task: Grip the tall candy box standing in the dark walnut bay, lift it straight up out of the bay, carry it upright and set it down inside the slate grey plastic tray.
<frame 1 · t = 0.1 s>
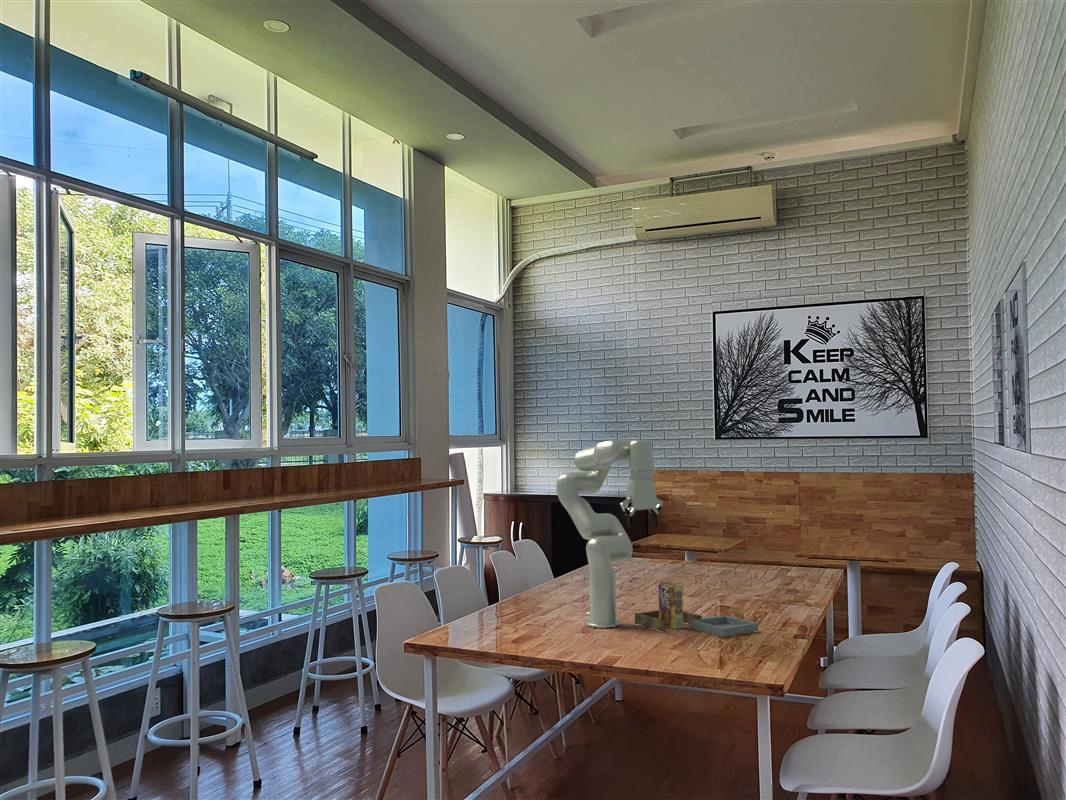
hand: (642, 527, 276), 37 cm above the table, tool pointing down, fingers open, 9 cm apart
candy box: (671, 627, 289), on the table
slate tray: (724, 630, 282), on the table
walnut bay: (671, 626, 289), on the table
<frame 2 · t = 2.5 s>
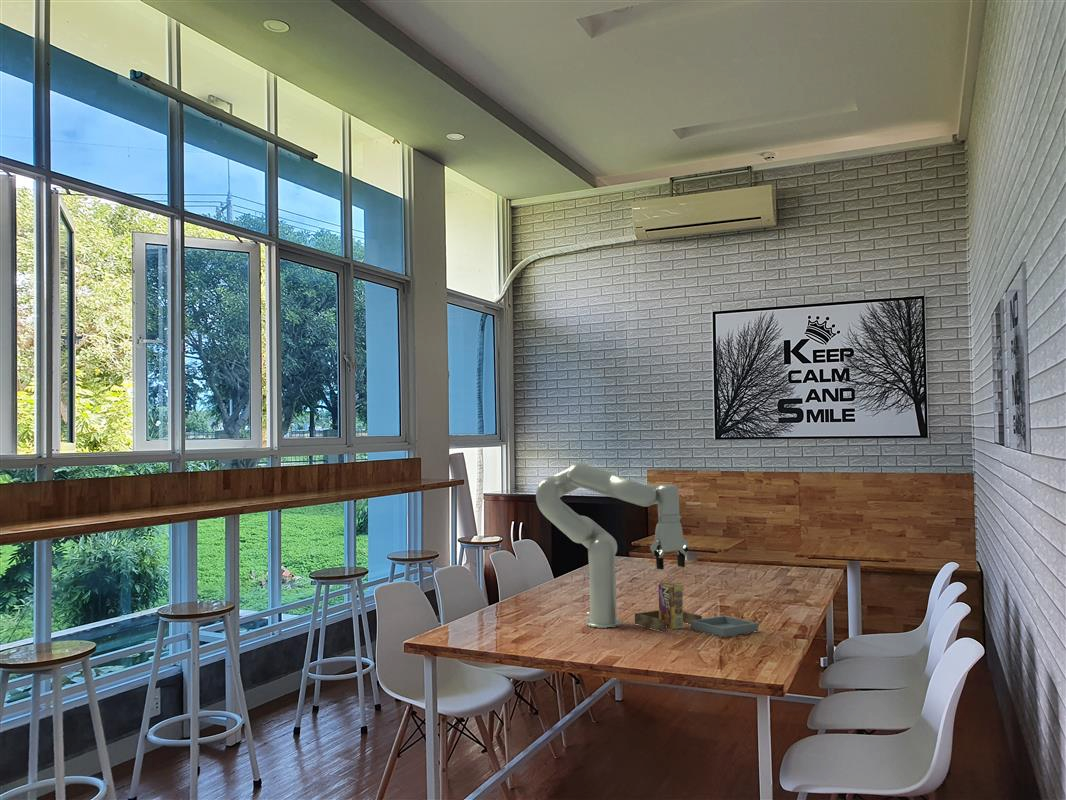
hand: (670, 567, 290), 21 cm above the table, tool pointing down, fingers open, 9 cm apart
nothing on the table moved.
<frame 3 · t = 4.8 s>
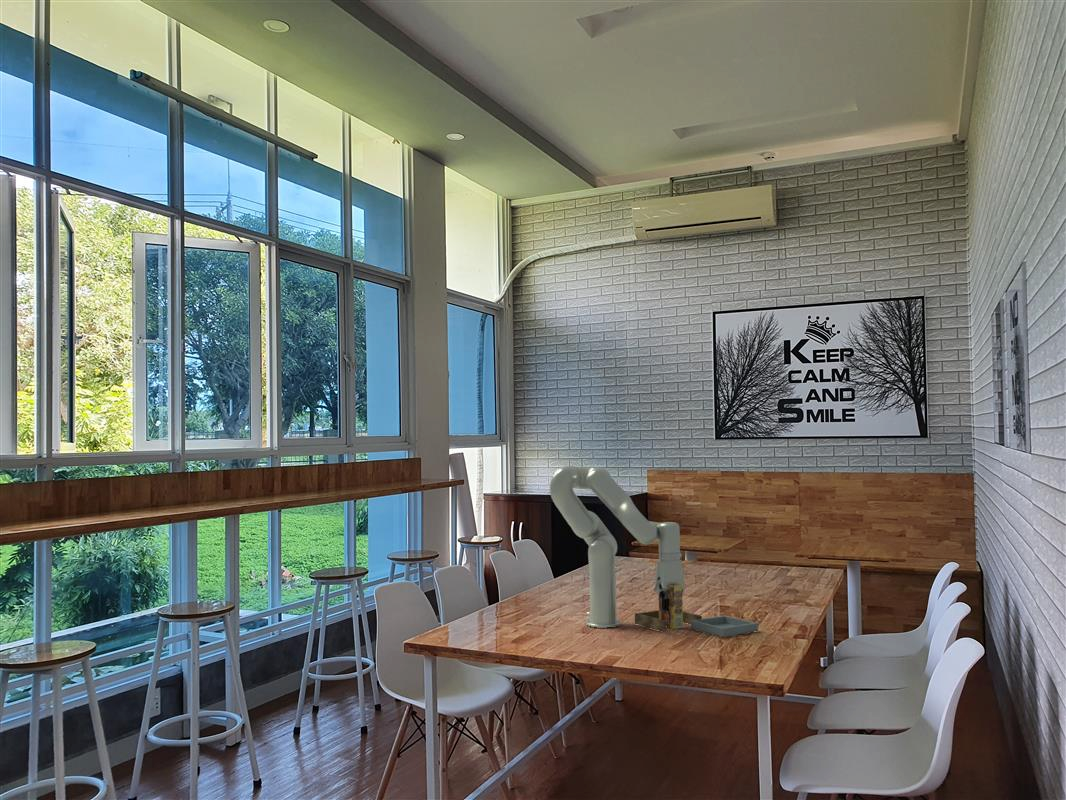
hand: (670, 608, 289), 6 cm above the table, tool pointing down, fingers closed on candy box, 4 cm apart
candy box: (671, 627, 289), on the table, touching gripper
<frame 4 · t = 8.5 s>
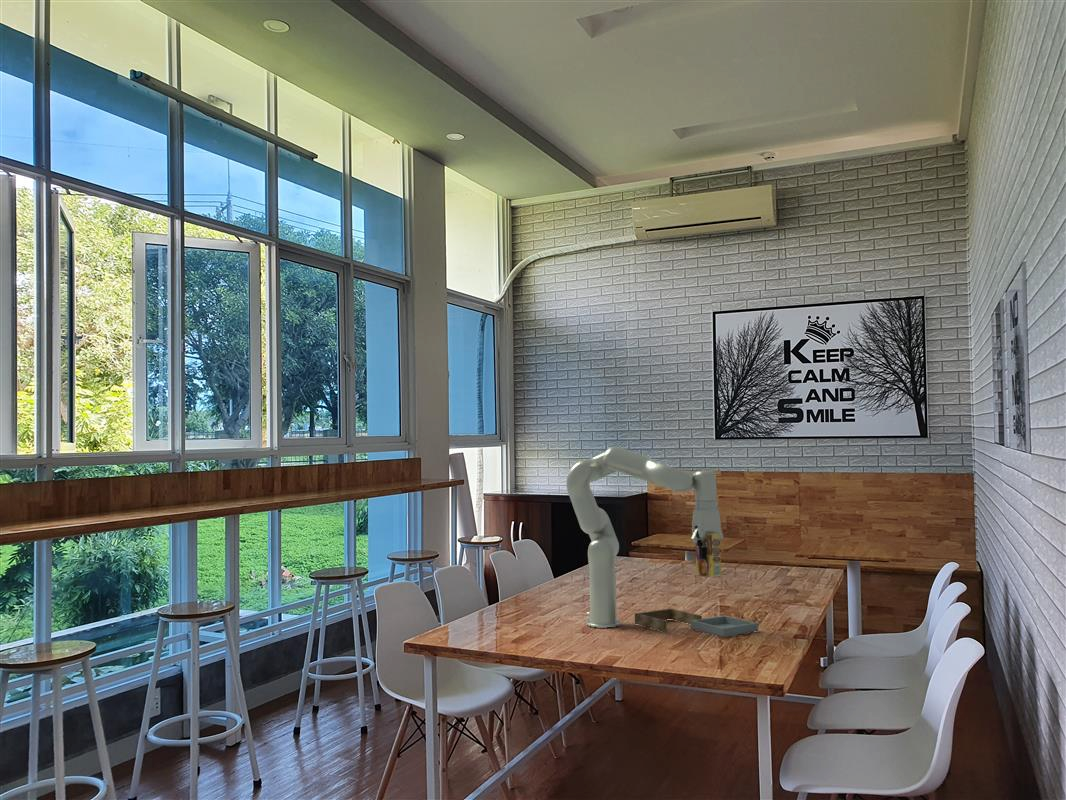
hand: (708, 557, 285), 25 cm above the table, tool pointing down, fingers closed on candy box, 4 cm apart
candy box: (709, 576, 285), point 18 cm above the table, touching gripper
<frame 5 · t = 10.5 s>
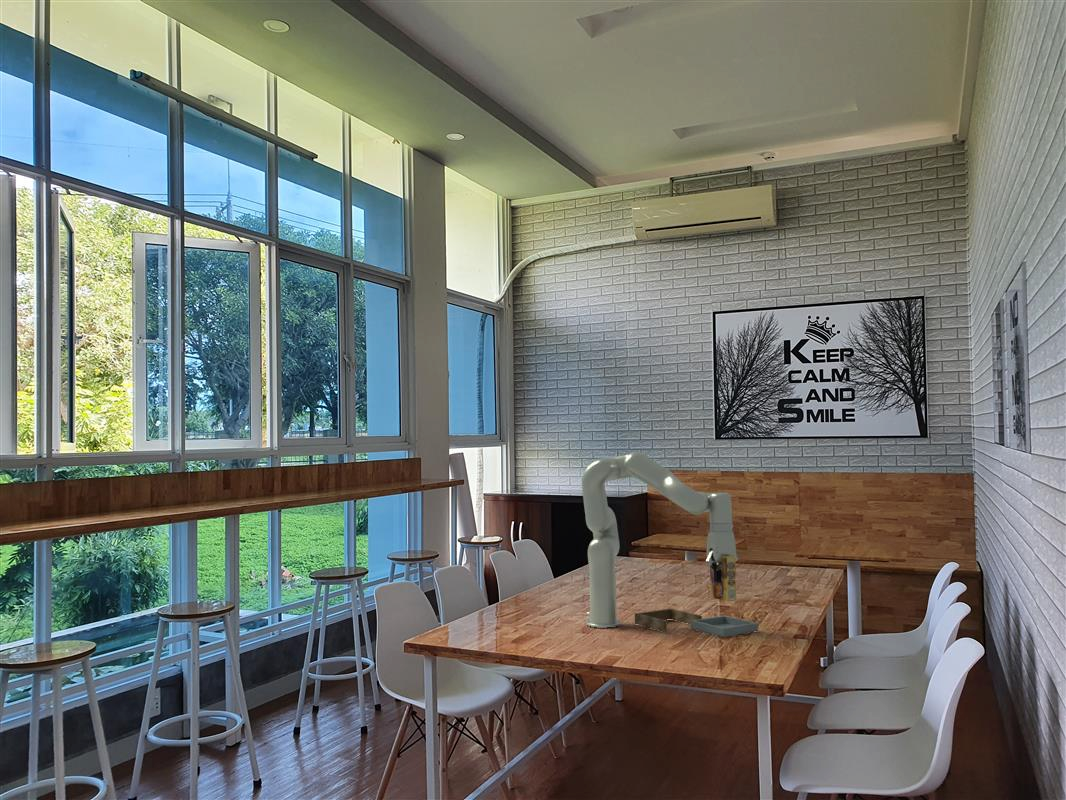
hand: (723, 580, 283), 17 cm above the table, tool pointing down, fingers closed on candy box, 4 cm apart
candy box: (723, 599, 282), point 11 cm above the table, touching gripper
when the fingers open (8 cm above the table, at t = 12.4 s): candy box drops 1 cm, resting on slate tray.
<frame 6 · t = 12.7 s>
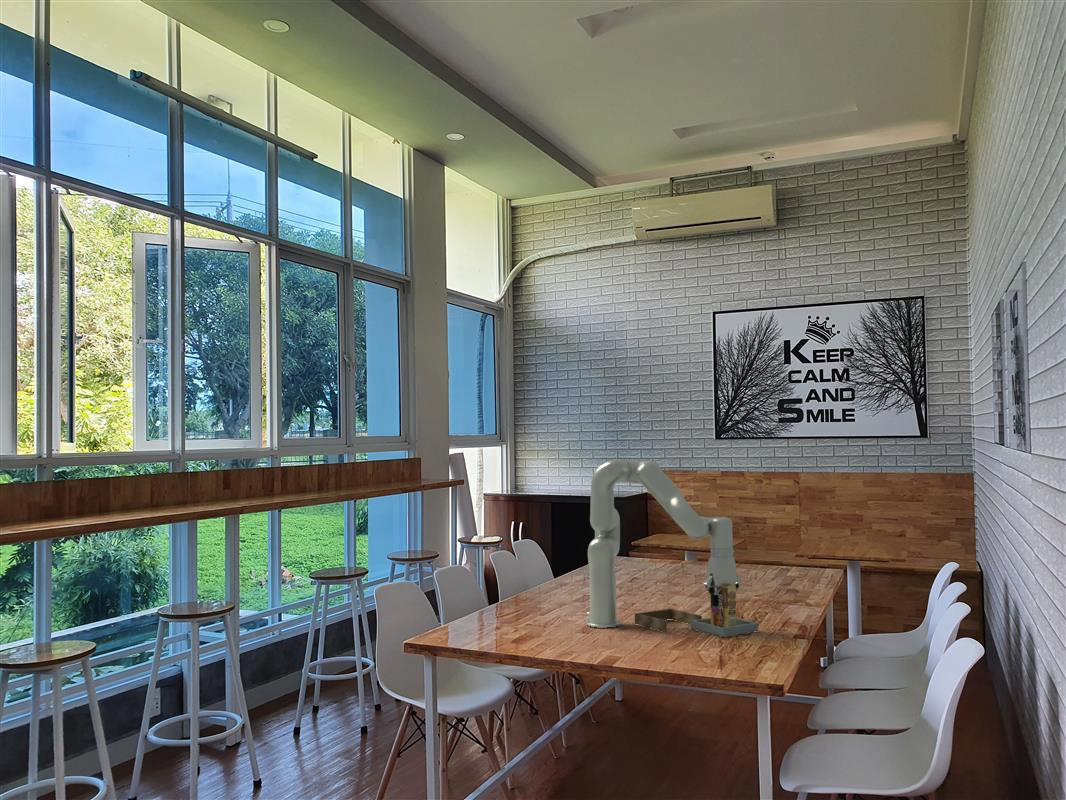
hand: (723, 604, 282), 9 cm above the table, tool pointing down, fingers open, 7 cm apart
candy box: (723, 629, 282), resting on slate tray
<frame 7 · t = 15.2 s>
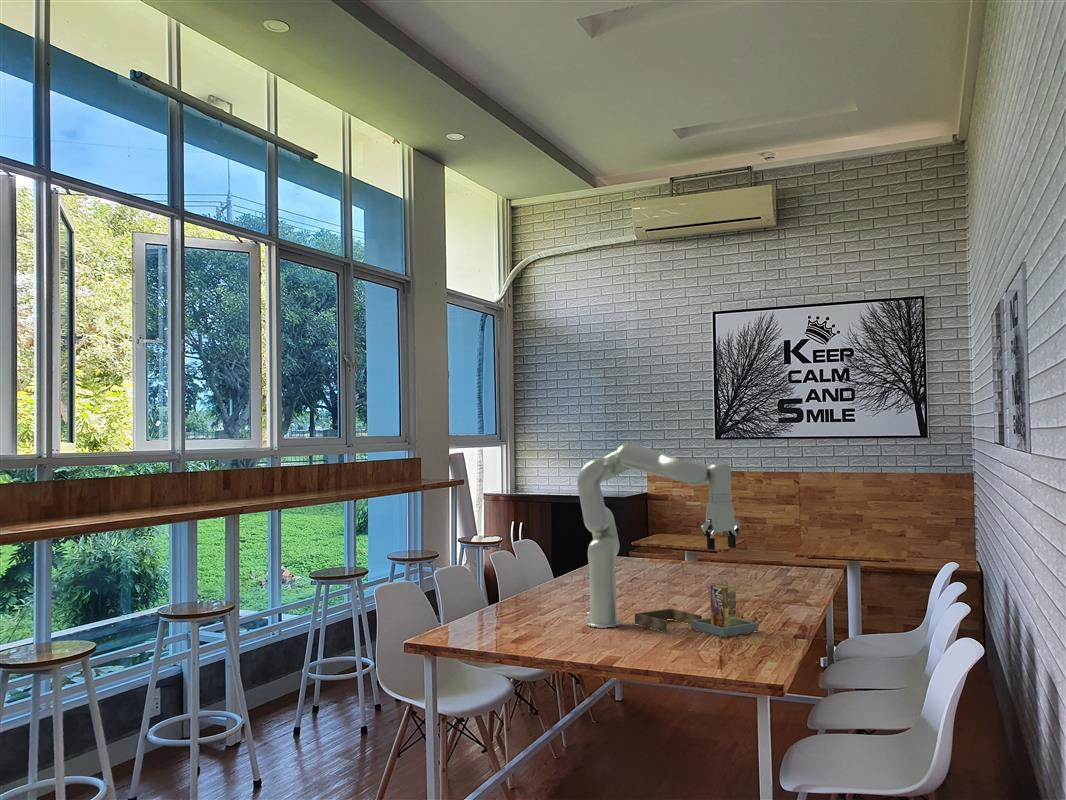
hand: (721, 548, 283), 28 cm above the table, tool pointing down, fingers open, 9 cm apart
nothing on the table moved.
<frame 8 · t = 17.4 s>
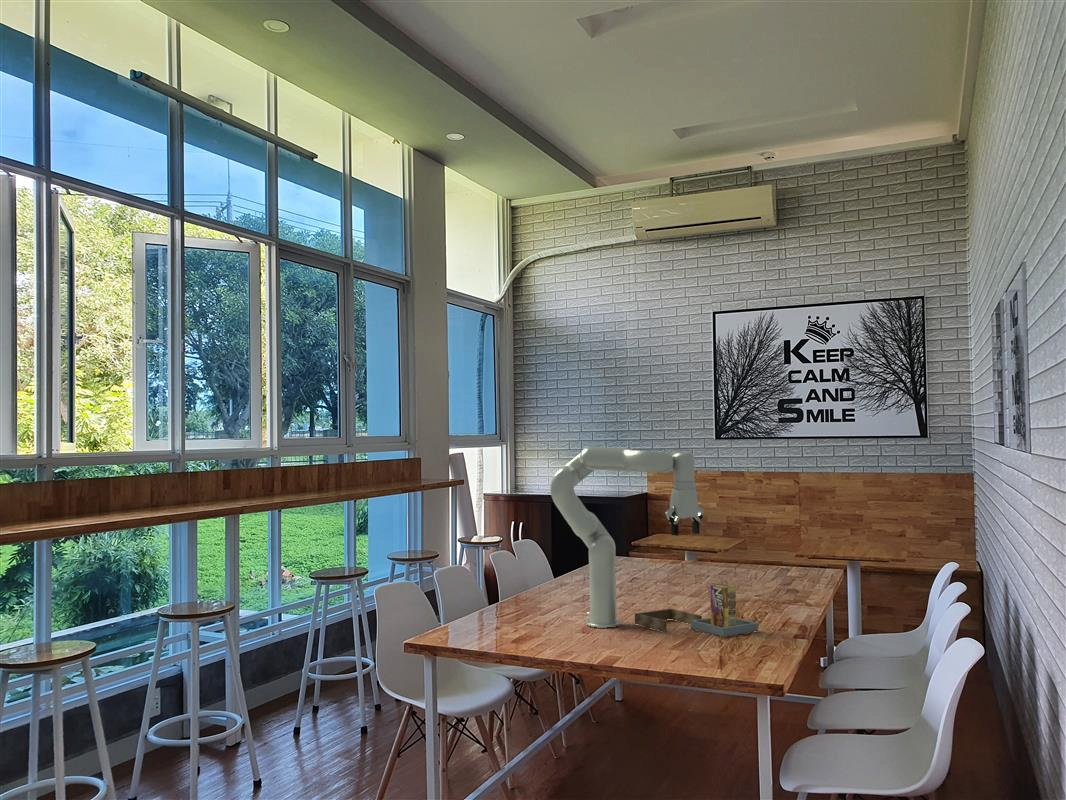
hand: (685, 534, 292), 32 cm above the table, tool pointing down, fingers open, 9 cm apart
nothing on the table moved.
at the end: candy box inside the target area on the slate tray (0.2 cm from its centre), point 0.4 cm above the slate tray's base; candy box tilted 0°; the gripper is holding nothing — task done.
